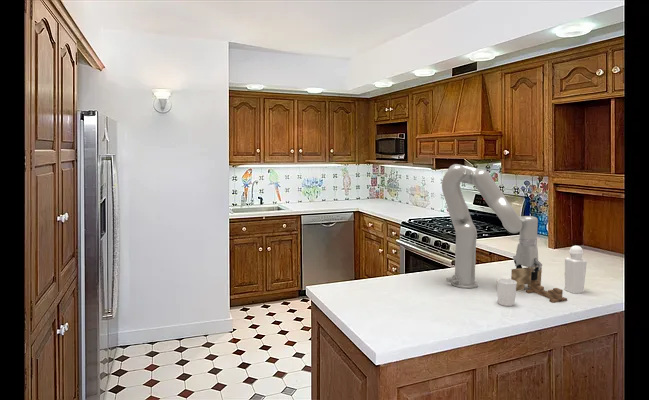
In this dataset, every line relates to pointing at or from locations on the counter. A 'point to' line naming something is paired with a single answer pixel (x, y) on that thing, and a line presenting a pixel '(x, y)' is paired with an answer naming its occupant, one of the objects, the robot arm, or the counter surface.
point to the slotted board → (524, 277)
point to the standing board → (553, 294)
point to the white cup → (506, 291)
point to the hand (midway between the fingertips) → (526, 277)
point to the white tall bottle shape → (575, 270)
